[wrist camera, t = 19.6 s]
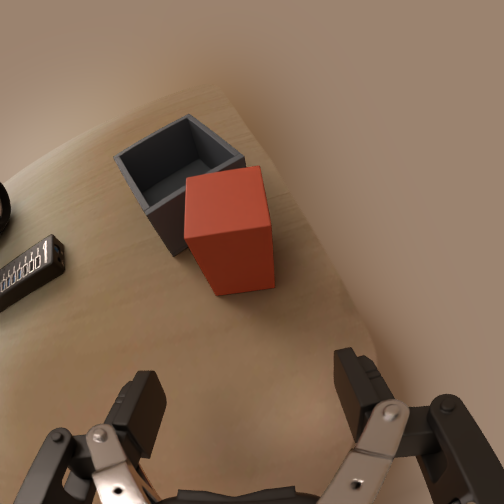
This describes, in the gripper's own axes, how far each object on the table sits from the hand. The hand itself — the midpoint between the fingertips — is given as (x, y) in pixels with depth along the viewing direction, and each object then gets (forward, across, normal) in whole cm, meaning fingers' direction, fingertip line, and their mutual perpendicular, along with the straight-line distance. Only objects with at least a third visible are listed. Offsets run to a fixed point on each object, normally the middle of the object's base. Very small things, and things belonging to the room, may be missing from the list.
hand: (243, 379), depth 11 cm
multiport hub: (+15, +28, -2) cm, 32 cm away
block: (+14, 0, -1) cm, 14 cm away
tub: (+20, +5, -7) cm, 22 cm away
